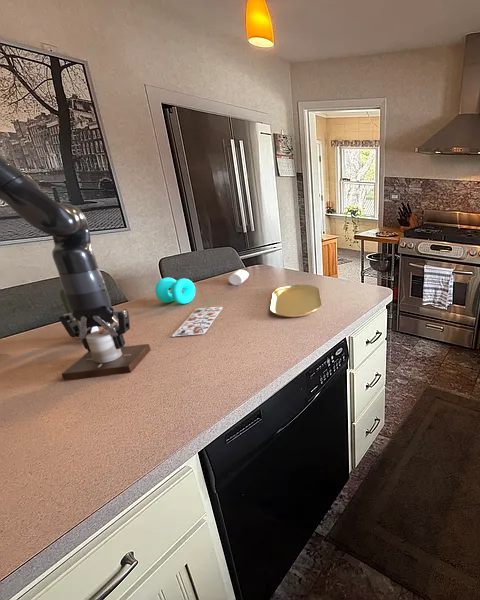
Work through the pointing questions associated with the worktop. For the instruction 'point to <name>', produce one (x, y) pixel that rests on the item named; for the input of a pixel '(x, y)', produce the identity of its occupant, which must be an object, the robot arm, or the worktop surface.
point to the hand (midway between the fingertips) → (106, 348)
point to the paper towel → (198, 321)
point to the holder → (107, 364)
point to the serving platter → (295, 300)
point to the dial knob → (102, 346)
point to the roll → (238, 277)
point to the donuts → (175, 290)
